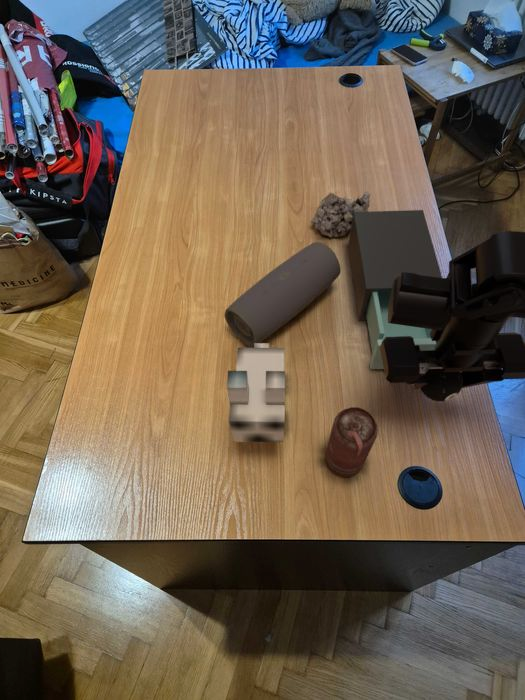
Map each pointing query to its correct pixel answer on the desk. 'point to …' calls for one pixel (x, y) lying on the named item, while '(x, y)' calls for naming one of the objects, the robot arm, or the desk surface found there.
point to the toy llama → (257, 395)
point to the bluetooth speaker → (282, 293)
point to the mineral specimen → (338, 214)
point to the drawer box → (388, 251)
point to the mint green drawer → (389, 327)
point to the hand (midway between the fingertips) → (436, 386)
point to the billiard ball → (442, 384)
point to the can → (350, 441)
